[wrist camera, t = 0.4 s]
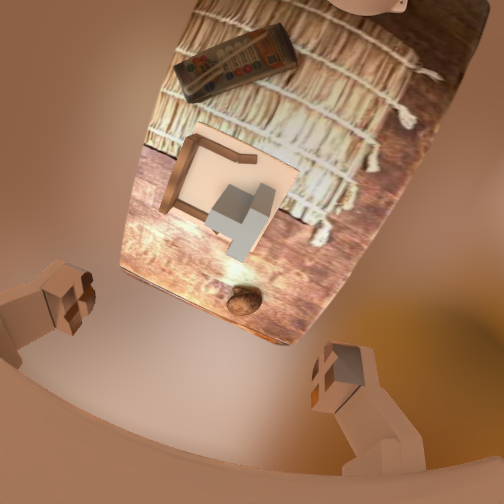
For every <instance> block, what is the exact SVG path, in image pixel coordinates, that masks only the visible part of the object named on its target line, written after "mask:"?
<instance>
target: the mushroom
mask: <svg viewBox="0 0 504 504" xmlns="http://www.w3.org/2000/svg"><path fill="white" fill-rule="evenodd" d="M233 291H234V293H235V296H232V297H231V298H230V299H229V300H228V302H227V308H228V310H229V311H230V312H231V313H232V314H234V315H238V316H245V315H249V314H251V313H253V312H255V311H256V310H258V308H259V307H260V305H261V303H262V297H261V295H260V294H259V293H258V292H248V291H247V290H246V289H241V288H233Z"/></svg>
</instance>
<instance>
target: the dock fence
mask: <svg viewBox="0 0 504 504" xmlns="http://www.w3.org/2000/svg"><path fill="white" fill-rule="evenodd" d="M199 146H201V147H203V148H206V149H208V150H210V151H212V152H214V153H216V154H218V155H220V156H222V157H225V158H227V159H229V160H231V161H233V162H235V163H236V162H237V161H238V164H257V155H256V154H239V153H237V152H235V151H233V150H231V149H229V148H227V147H225V146H223V145H221V144H219V143H216V142H214V141H212V140H210V139H208V138H206V137H203V136H201V135H199V134H197V133H195V134H193V135H190V136H188V137H186V138H185V141H184V143H183V146H182V148H181V151H180V153H179V156H178V158H177V161H176V164H175V166H174V169H173V171H172V174H171V177H170V180H169V182H168V185H167V188H166V191H165V194H164V197H163V199H162V202H161V205H160V208H159V212H161V213H163V214H165V215H166V214H167V213H168V212H169V211H170V210H171V209H172V208H173V207H175V208H177V209H179V210H181V211H183V212H185V213H187V214H189V215H191V216H193V217H194V218H196V219H198V220H200V221H202V222H204V223H205V221H206V219H207V217H208V215H209V214H208V213H206V212H204V211H202V210H200V209H198V208H196V207H194V206H192V205H190V204H188V203H186V202H184V201H182V200H180V199H178V197H179V194H180V191H181V189H182V186H183V184H184V181H185V179H186V176H187V174H188V171H189V169H190V166H191V164H192V161H193V159H194V157H195V154H196V152H197V149H198V147H199ZM212 230H213V229H212ZM213 232H214V233H215V234H216V235H217V234H218V233H219V232H217V231H215V230H213Z"/></svg>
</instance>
